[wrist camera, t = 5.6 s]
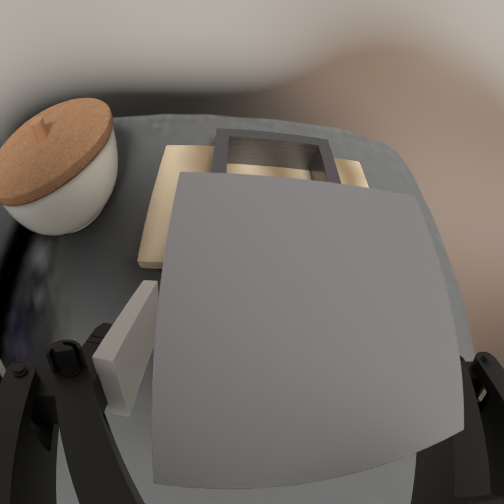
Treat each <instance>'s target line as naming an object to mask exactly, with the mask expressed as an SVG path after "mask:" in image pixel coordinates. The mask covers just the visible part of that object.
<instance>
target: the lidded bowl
mask: <svg viewBox="0 0 504 504" xmlns="http://www.w3.org/2000/svg"><path fill="white" fill-rule="evenodd" d="M117 171H118V152H117V143H116V138H115V133H114V129H113V119H112V114H111V111H110V108H109V106H108V105H107V104H106V103H104V102H102V101H101V100H98V99H94V98H80V99H74V100H69V101H65V102H62V103H60V104H57V105H55V106H52V107H50V108H48V109H46V110H44V111H42V112H41V113H39V114H37V115H36V116H34V117H33V118H31V119H30V120H29V121H27V122H26V123H24V124H23V125H22V126H21V127H20V128H19V129H18V130H16V131H15V132H14V133H13V134H12V135H11V136H10V138H9V139H8V140H7V141H6V142H5V143H4V145H3V146H2V147H1V149H0V203H1V204H2V205H3V206H4V208H5V209H6V210H7V211H8V213H9V214H10V215H11V216H12V217H13V218H14V219H15V220H16V221H18V222H19V223H20V224H22V225H23V226H24V227H26V228H28V229H29V230H31V231H34V232H36V233H39V234H42V235H52V236H54V235H62V234H67V233H74V232H77V231H80V230H82V229H83V228H85V227H87V226H88V225H90V224H91V223H92V222H93V221H94V220H95V219H96V218H97V217H98V216H99V214H100V213H101V211H102V210H103V208H104V206H105V204H106V203H107V201H108V199H109V198H110V195H111V193H112V191H113V188H114V186H115V182H116V178H117Z"/></svg>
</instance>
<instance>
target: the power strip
mask: <svg viewBox="0 0 504 504" xmlns="http://www.w3.org/2000/svg"><path fill="white" fill-rule="evenodd" d="M462 430H464V399H463V382H462V371H461V362H460V354H459V347H458V340H457V334H456V328H455V323H454V318H453V313H452V308H451V304H450V300H449V295H448V291H447V287H446V283H445V280H444V276H443V272H442V269H441V266H440V262H439V259H438V256H437V253H436V249H435V246H434V243H433V241H432V238H431V235H430V232H429V229H428V226H427V224H426V221H425V219H424V216H423V213H422V211H421V208H420V206H419V204H418V201H417V199H416V196H411V195H406V194H401V193H395V192H390V191H384V190H378V189H372V188H366V187H359V186H353V185H346V184H338V183H331V182H323V181H314V180H305V179H296V178H285V177H274V176H262V175H247V174H230V173H207V172H180V174H179V178H178V183H177V187H176V192H175V197H174V202H173V207H172V213H171V218H170V224H169V229H168V235H167V241H166V248H165V254H164V261H163V268H162V275H161V283H160V291H159V300H158V309H157V319H156V330H155V342H154V357H153V376H152V462H153V479H154V483H157V484H164V485H171V486H180V487H191V488H207V489H254V488H269V487H280V486H289V485H297V484H304V483H310V482H316V481H322V480H327V479H332V478H336V477H341V476H345V475H349V474H353V473H357V472H361V471H364V470H368V469H371V468H374V467H378V466H381V465H384V464H387V463H390V462H393V461H395V460H398V459H401V458H404V457H406V456H409V455H411V454H414V453H416V452H419V451H421V450H423V449H426V448H428V447H430V446H432V445H434V444H436V443H439V442H441V441H443V440H445V439H447V438H449V437H451V436H453V435H455V434H456V433H458V432H460V431H462Z"/></svg>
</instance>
